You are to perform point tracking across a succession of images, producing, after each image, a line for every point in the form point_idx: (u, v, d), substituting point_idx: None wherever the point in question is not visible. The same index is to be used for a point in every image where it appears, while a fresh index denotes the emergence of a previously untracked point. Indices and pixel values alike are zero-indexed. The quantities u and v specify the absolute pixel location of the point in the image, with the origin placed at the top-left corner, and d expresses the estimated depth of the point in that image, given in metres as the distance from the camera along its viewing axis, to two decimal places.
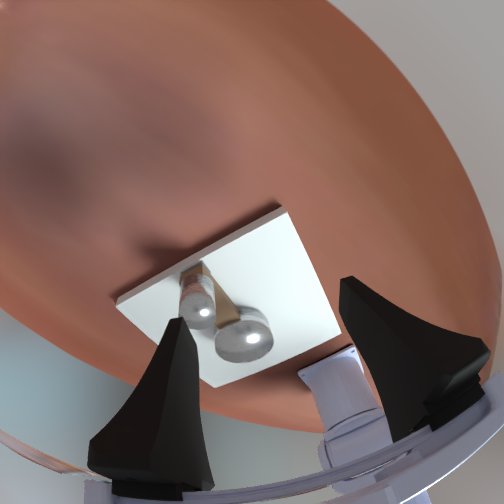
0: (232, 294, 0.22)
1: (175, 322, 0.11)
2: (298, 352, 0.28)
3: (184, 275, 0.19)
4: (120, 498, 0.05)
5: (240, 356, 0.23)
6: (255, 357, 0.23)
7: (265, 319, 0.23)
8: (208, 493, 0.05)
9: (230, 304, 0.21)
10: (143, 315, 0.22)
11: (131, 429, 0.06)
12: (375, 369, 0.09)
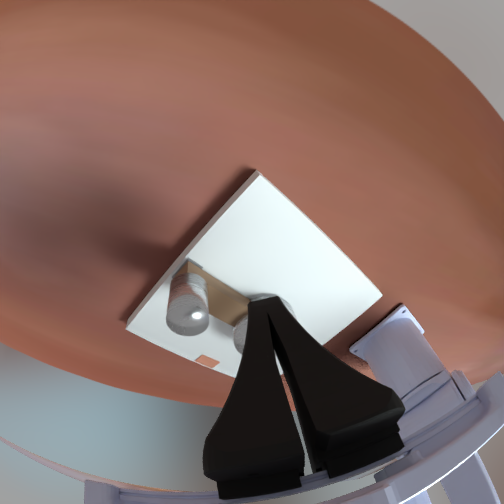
0: (237, 285, 0.19)
1: (257, 304, 0.11)
2: (340, 328, 0.24)
3: None
4: (120, 498, 0.05)
5: None
6: None
7: (283, 302, 0.20)
8: (208, 493, 0.05)
9: (235, 297, 0.18)
10: (155, 331, 0.21)
11: (256, 416, 0.06)
12: (293, 396, 0.09)
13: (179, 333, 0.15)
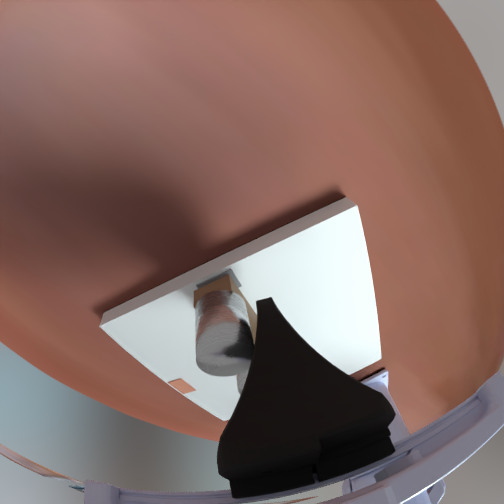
0: None
1: (266, 302, 0.11)
2: None
3: (201, 291, 0.13)
4: (120, 498, 0.05)
5: None
6: None
7: None
8: (208, 493, 0.05)
9: None
10: (137, 340, 0.15)
11: (270, 414, 0.06)
12: None
13: (205, 371, 0.10)
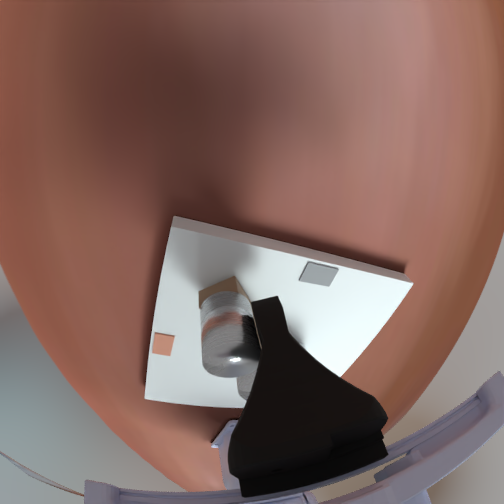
0: (310, 321, 0.16)
1: (272, 301, 0.11)
2: None
3: (206, 291, 0.13)
4: (120, 498, 0.05)
5: None
6: None
7: None
8: (208, 493, 0.05)
9: None
10: (192, 271, 0.13)
11: (280, 411, 0.06)
12: None
13: (211, 372, 0.10)
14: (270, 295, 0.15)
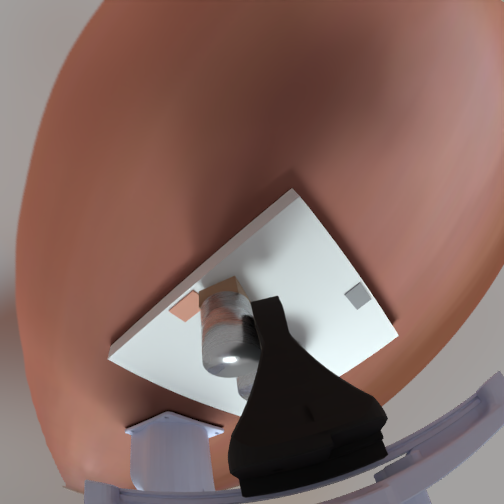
0: (323, 335, 0.17)
1: (272, 301, 0.11)
2: (221, 407, 0.21)
3: (206, 291, 0.13)
4: (120, 498, 0.05)
5: None
6: None
7: None
8: (208, 493, 0.05)
9: None
10: (282, 245, 0.13)
11: (281, 411, 0.06)
12: None
13: (211, 371, 0.10)
14: (318, 298, 0.15)
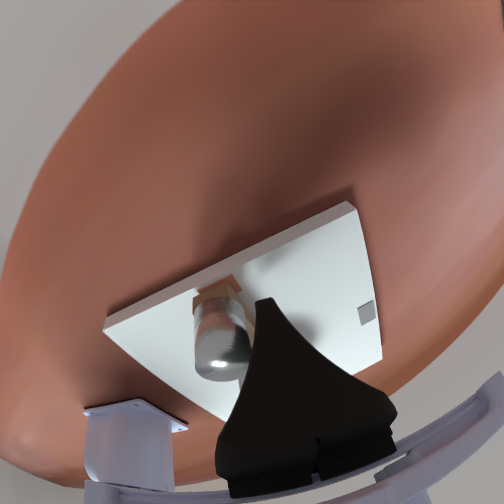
0: (325, 344, 0.18)
1: (265, 302, 0.11)
2: (200, 403, 0.20)
3: (199, 297, 0.13)
4: (120, 498, 0.05)
5: None
6: None
7: None
8: (208, 493, 0.05)
9: None
10: (327, 249, 0.14)
11: (268, 414, 0.06)
12: None
13: (205, 376, 0.10)
14: (336, 306, 0.16)
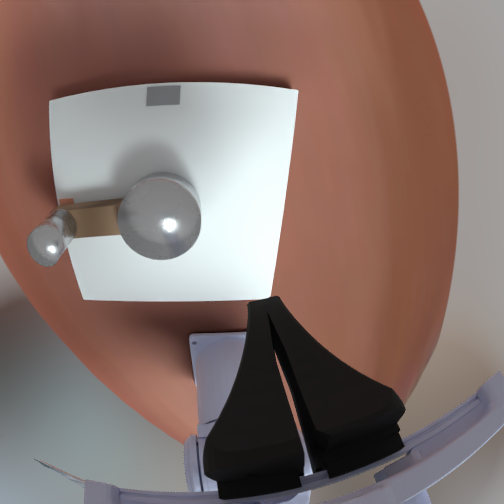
0: (182, 150, 0.15)
1: (257, 304, 0.11)
2: (208, 297, 0.21)
3: None
4: (120, 498, 0.05)
5: (177, 237, 0.16)
6: (193, 221, 0.15)
7: (152, 175, 0.15)
8: (208, 493, 0.05)
9: (101, 204, 0.15)
10: (67, 128, 0.13)
11: (256, 416, 0.06)
12: (293, 396, 0.09)
13: (49, 264, 0.13)
14: (128, 128, 0.14)
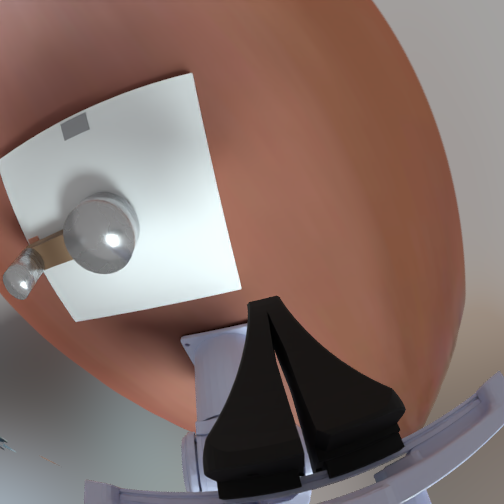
0: (104, 168, 0.15)
1: (257, 304, 0.11)
2: (178, 299, 0.21)
3: None
4: (120, 498, 0.05)
5: (116, 249, 0.15)
6: (123, 231, 0.15)
7: (84, 199, 0.15)
8: (208, 493, 0.05)
9: (55, 235, 0.15)
10: (15, 179, 0.13)
11: (256, 417, 0.06)
12: (293, 396, 0.09)
13: (24, 297, 0.13)
14: (58, 164, 0.14)
